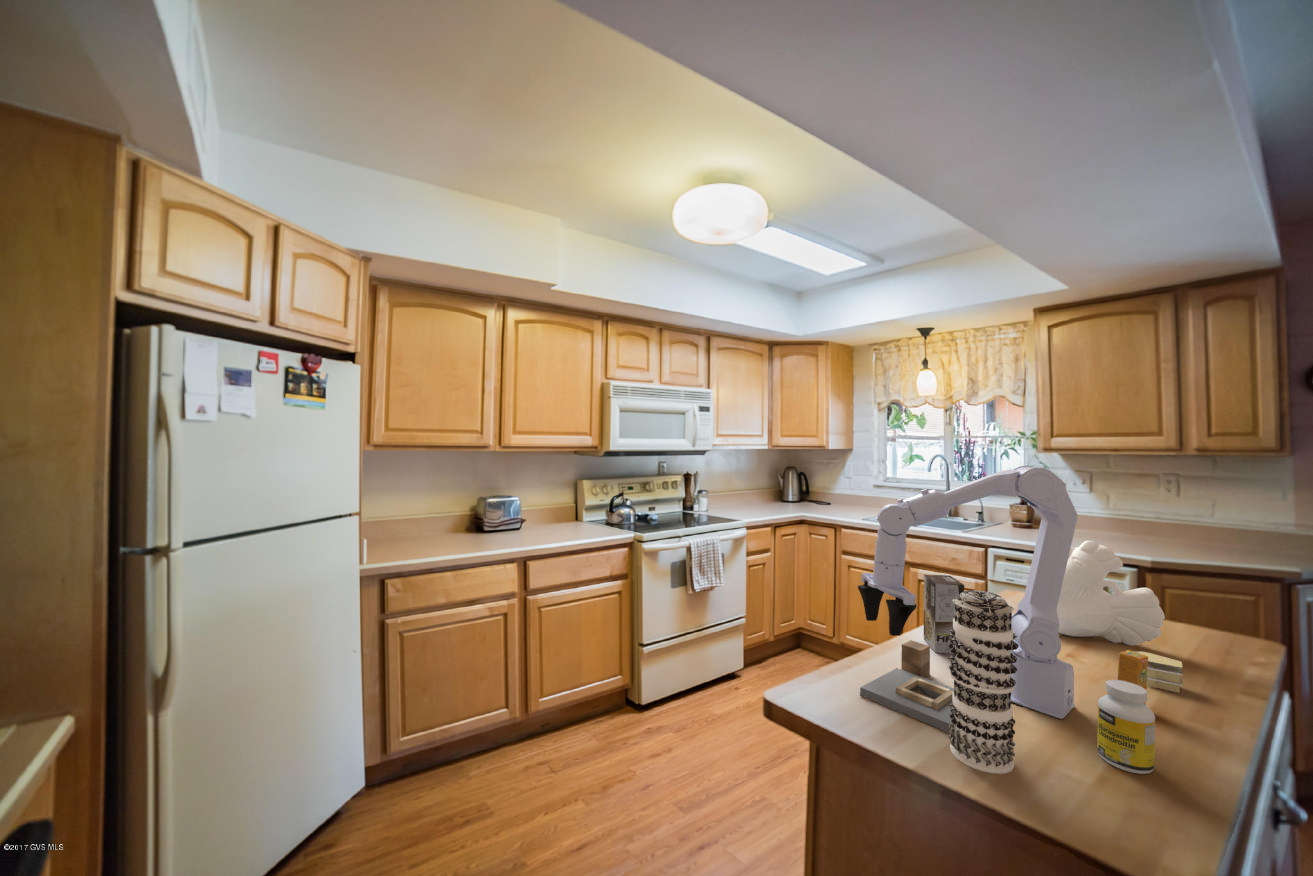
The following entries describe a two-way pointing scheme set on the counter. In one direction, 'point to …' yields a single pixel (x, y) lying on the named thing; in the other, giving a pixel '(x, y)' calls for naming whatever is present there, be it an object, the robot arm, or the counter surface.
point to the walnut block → (916, 658)
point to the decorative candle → (982, 682)
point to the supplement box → (1133, 668)
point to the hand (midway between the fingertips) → (882, 627)
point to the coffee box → (939, 610)
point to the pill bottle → (1126, 728)
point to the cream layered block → (1163, 672)
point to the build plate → (912, 697)
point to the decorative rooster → (1104, 600)
